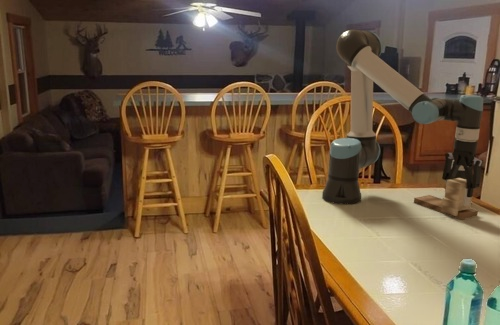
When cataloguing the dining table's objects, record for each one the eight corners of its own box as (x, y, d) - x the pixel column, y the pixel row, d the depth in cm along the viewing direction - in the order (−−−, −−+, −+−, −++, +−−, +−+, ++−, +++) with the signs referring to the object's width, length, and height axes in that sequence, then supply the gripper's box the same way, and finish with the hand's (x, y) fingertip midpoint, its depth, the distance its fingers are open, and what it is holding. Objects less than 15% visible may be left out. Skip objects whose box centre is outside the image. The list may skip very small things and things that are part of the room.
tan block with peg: (441, 211, 171) (445, 180, 168) (458, 207, 176) (462, 177, 173) (455, 216, 166) (460, 184, 163) (472, 212, 171) (477, 181, 168)
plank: (413, 202, 183) (414, 197, 183) (429, 199, 188) (429, 194, 187) (461, 219, 166) (462, 214, 165) (477, 215, 170) (478, 210, 170)
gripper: (436, 135, 171) (428, 196, 176) (485, 145, 155) (475, 212, 160) (449, 134, 174) (441, 194, 180) (498, 143, 159) (488, 208, 164)
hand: (457, 202), depth 170 cm, fingers closed on tan block with peg, 6 cm apart
